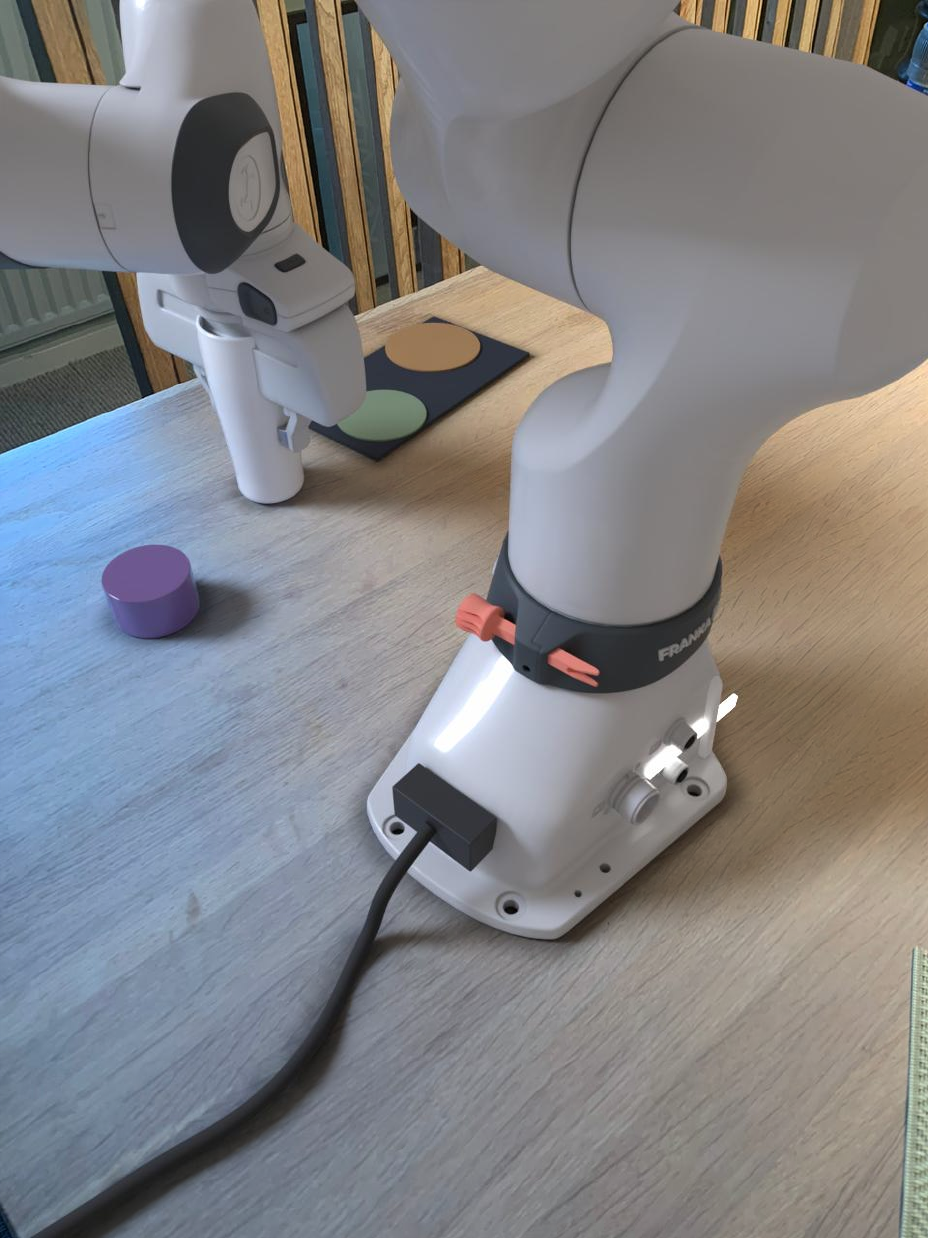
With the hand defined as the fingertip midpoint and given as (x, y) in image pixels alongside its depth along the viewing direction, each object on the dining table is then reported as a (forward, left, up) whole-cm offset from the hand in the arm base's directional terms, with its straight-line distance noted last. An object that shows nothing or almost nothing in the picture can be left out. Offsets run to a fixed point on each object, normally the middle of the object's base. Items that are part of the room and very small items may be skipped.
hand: (261, 429), depth 77 cm
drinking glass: (0, 0, -6) cm, 6 cm away
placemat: (+19, +2, -6) cm, 20 cm away
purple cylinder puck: (-15, -4, -6) cm, 16 cm away
